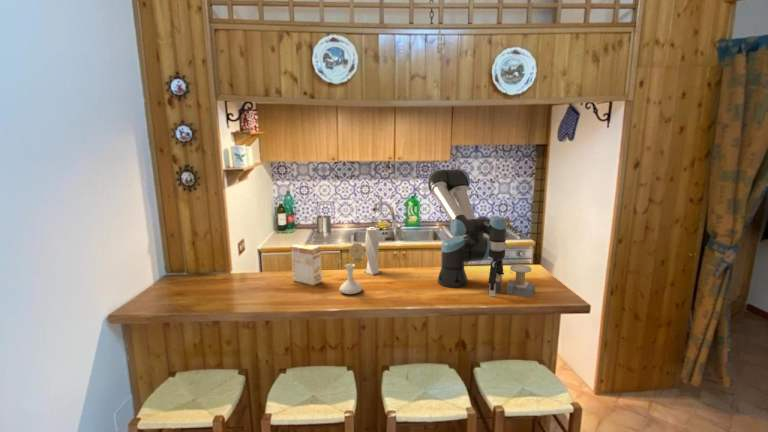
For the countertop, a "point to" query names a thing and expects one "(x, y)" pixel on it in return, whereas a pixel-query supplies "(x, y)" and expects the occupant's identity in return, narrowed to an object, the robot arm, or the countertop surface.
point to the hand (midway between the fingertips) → (495, 291)
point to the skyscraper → (372, 250)
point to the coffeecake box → (306, 263)
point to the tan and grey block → (498, 285)
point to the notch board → (520, 292)
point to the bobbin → (520, 275)
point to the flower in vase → (350, 284)
